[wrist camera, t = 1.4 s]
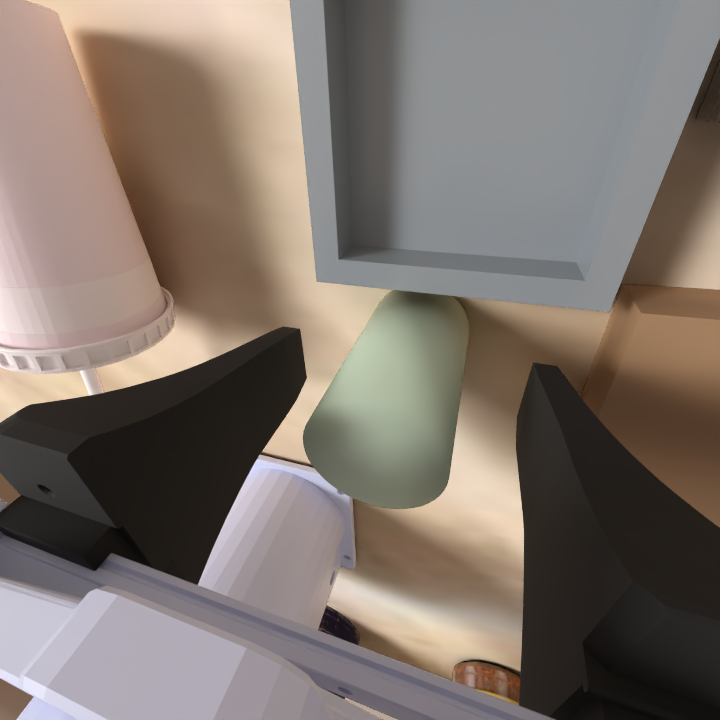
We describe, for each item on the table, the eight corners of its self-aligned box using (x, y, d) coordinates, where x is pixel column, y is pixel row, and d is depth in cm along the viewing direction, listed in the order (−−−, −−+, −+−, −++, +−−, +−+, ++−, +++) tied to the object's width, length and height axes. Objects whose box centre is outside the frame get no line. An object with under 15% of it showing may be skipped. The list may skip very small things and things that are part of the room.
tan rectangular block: (727, 487, 14) (760, 547, 12) (554, 455, 16) (561, 503, 14) (882, 294, 10) (974, 341, 8) (619, 278, 11) (641, 313, 9)
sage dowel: (462, 374, 14) (440, 523, 9) (373, 360, 15) (310, 489, 10) (477, 289, 12) (458, 420, 7) (373, 278, 13) (294, 389, 8)
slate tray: (595, 285, 11) (608, 312, 10) (336, 262, 13) (316, 281, 12) (760, -169, 6) (834, -245, 5) (314, -88, 9) (277, -126, 7)
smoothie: (-371, -87, 6) (13, 486, 13) (106, 0, 8) (201, 440, 16) (-140, -4, 11) (47, 386, 18) (120, 36, 13) (188, 362, 21)
